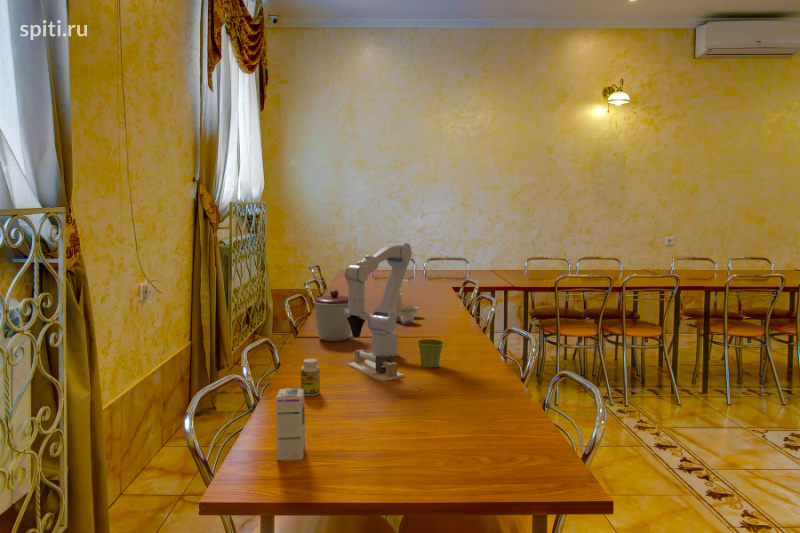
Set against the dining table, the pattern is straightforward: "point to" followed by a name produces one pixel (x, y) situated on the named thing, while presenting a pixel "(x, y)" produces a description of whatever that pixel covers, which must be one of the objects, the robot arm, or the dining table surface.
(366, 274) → the robot arm
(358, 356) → the pipe rig
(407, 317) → the chinaware
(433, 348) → the plant pot
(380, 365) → the grey square collar
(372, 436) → the dining table surface
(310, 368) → the supplement bottle
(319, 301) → the canister
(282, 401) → the syrup box
